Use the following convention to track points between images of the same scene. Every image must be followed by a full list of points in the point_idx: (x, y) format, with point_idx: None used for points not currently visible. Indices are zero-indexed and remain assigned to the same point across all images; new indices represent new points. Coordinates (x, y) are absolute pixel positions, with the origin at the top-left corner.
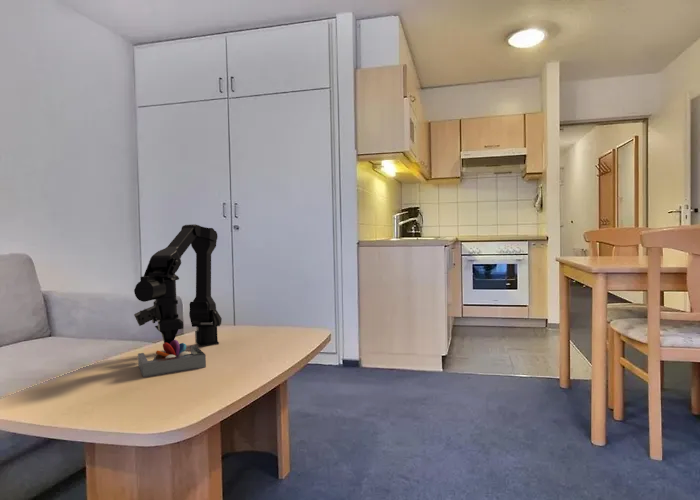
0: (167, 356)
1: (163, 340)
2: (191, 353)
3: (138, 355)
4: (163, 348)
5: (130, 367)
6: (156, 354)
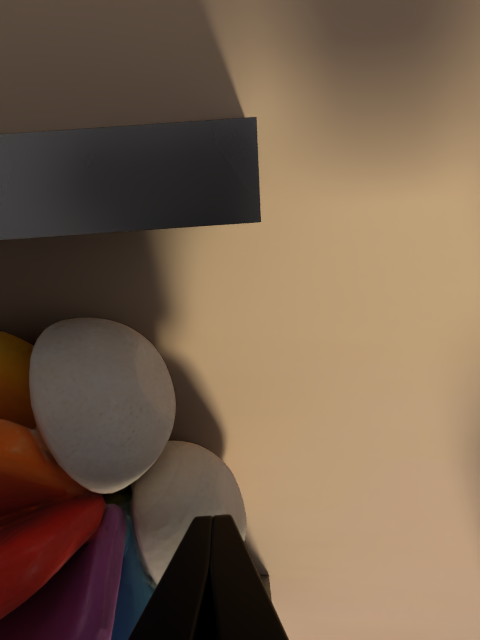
0: None
1: (258, 633)
2: None
3: (116, 126)
4: (21, 537)
5: (216, 4)
6: (46, 396)
